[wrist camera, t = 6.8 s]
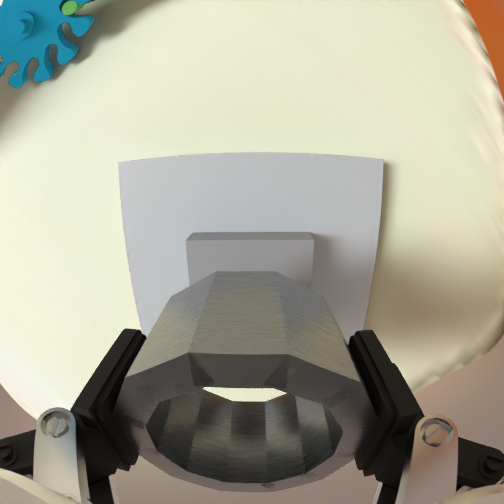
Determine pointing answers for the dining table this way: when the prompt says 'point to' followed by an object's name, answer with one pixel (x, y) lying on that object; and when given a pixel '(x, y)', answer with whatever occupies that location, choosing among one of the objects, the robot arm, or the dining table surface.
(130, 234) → the shaft stand
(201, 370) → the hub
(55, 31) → the gear
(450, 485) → the robot arm
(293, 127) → the dining table surface
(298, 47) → the dining table surface
